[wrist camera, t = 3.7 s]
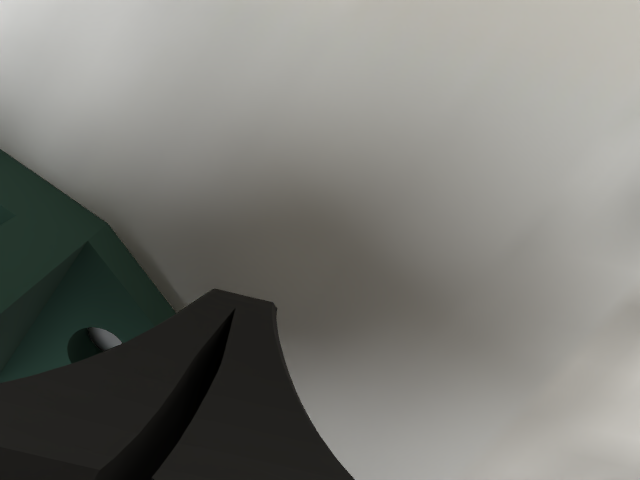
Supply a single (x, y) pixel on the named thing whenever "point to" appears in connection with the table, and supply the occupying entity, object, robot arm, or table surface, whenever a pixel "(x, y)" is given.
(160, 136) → the table surface
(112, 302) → the mount
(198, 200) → the table surface
